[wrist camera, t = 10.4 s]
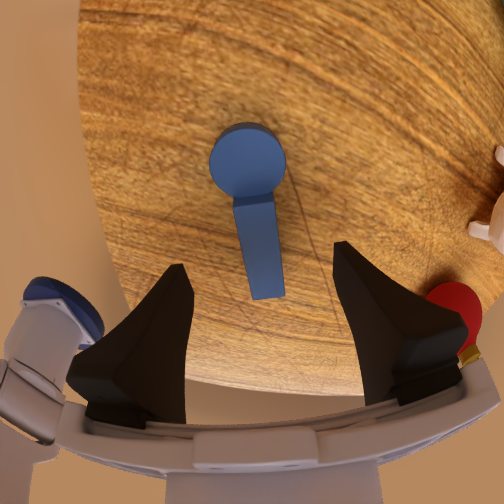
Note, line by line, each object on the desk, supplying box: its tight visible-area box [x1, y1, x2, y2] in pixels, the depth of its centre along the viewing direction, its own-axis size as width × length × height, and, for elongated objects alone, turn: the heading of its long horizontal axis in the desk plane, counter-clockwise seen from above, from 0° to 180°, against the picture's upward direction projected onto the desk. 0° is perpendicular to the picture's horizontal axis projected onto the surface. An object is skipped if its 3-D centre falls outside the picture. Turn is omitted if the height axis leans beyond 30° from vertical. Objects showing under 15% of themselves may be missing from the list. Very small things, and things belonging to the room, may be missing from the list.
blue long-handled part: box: [209, 122, 286, 300], centre depth 16 cm, size 11×4×3 cm, turn 9°
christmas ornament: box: [425, 282, 482, 366], centre depth 19 cm, size 7×7×10 cm
